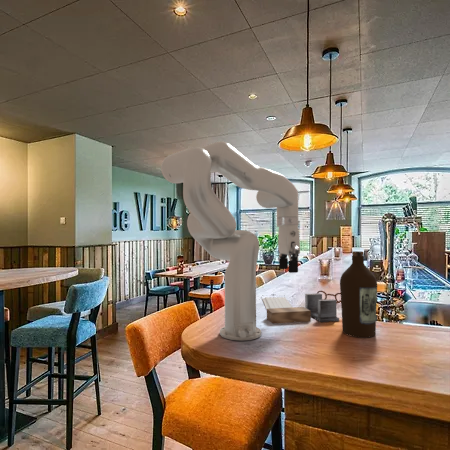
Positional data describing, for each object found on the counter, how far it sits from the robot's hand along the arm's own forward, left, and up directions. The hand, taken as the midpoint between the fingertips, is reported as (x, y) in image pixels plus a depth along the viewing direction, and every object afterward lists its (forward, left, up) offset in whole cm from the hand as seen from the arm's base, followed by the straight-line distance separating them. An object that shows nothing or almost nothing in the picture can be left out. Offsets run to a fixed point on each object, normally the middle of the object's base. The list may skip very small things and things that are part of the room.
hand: (288, 270), depth 115 cm
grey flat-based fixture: (+3, -13, -17) cm, 22 cm away
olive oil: (-18, -16, -18) cm, 30 cm away
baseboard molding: (+19, -2, -18) cm, 26 cm away
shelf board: (0, 0, -18) cm, 18 cm away
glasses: (+21, -24, -18) cm, 37 cm away
